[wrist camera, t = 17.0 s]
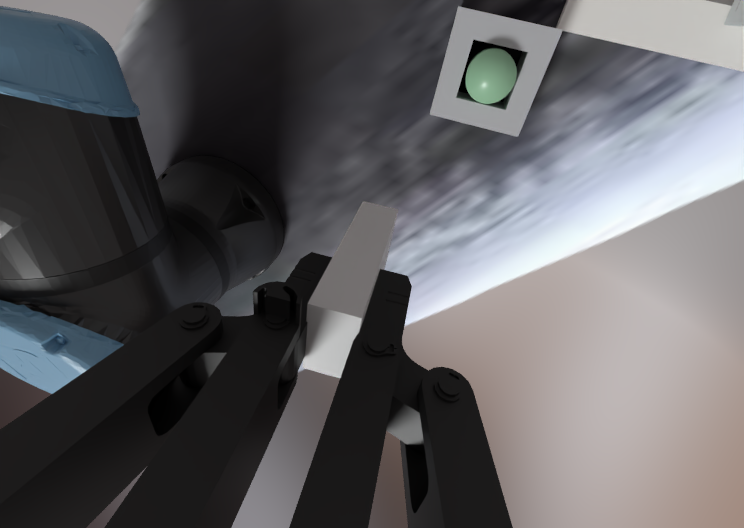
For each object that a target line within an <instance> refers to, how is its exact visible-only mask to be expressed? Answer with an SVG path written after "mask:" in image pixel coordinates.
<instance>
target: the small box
mask: <svg viewBox="0 0 744 528" xmlns="http://www.w3.org/2000/svg"><path fill="white" fill-rule="evenodd" d="M724 25H728V26H744V0H734V2H733V4H732V7H731V9H730V11H729V13H728V16H727V18H726V20H725V22H724Z"/></svg>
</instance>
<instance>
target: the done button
mask: <svg viewBox="0 0 744 528" xmlns="http://www.w3.org/2000/svg"><path fill="white" fill-rule="evenodd" d="M516 75H517V69H516V65H515V62H514V60H513V59H512V57H511V56H510V55H509V54H508V53H507V52H506V51H505V50H503V49H501V48H497V47H491V48H486V49H484V50H482V51H480V52H479V53H477V54H476V55H475V56H474V57H473V59H472V60H471V62H470V63H469V66H468V68H467V73H466V88H467V91H468V93H469V94H470V96H471V97H472V98H473V99H474V100H476V101H478V102H480V103H484V104H491V103H495V102H498V101H500V100H501V99H503V98H504V97H505V96H507V95H508V93H509V92H510V91H511V89H512V88H513V86H514V84H515V81H516Z"/></svg>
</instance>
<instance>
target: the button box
mask: <svg viewBox="0 0 744 528" xmlns="http://www.w3.org/2000/svg"><path fill="white" fill-rule="evenodd" d="M562 31H563V30H561V29H556V28H552V27H547V26H543V25H539V24H534V23H530V22H525V21H521V20H517V19H512V18H508V17H503V16H499V15H494V14H490V13H486V12H481V11H477V10H472V9H468V8H464V7H459V6H458V10H457V14H456V17H455V21H454V25H453V29H452V32H451V36H450V40H449V44H448V47H447V51H446V55H445V59H444V62H443V66H442V70H441V74H440V78H439V81H438V85H437V89H436V93H435V96H434V100H433V104H432V108H431V111H430V115H434V116H438V117H442V118H446V119H450V120H454V121H458V122H462V123H466V124H470V125H473V126H477V127H481V128H485V129H489V130H493V131H497V132H501V133H505V134H509V135H513V136H517V137H518V135H519V133H520V131H521V128H522V126H523V124H524V121H525V119H526V116H527V114H528V112H529V109H530V107H531V105H532V102H533V100H534V98H535V95H536V93H537V90H538V88H539V86H540V83H541V81H542V79H543V76H544V74H545V72H546V69H547V67H548V64H549V62H550V60H551V57H552V55H553V53H554V50H555V48H556V46H557V43H558V41H559V38H560V36H561V34H562ZM473 40H478V41H482V42H487V43H491V44H495V45H499V46H504V47H508V48H512V49H516V50H521V51H522V54H521V57H520V59H519V62H518V65H517V67H516V69H517V75H516V81H515V84H514V86H513V88H512V89H511V91H510V92H509V93H508V95H507V96H506V97H505V99H504V102H499V101H498V102H495V103H491V104H484V103H480V102H478V101H476V100H474V99H473V98H472V97H471V96H470V94H467V93H463V92H459V91H458V90H459V86H460V83H461V80H462V76H463V73H464V70H465V66H466V63H467V60H468V56H469V53H470V50H471V46H472V43H473Z"/></svg>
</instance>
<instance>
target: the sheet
mask: <svg viewBox="0 0 744 528" xmlns="http://www.w3.org/2000/svg"><path fill="white" fill-rule="evenodd" d="M733 2H734V0H567V1H566V3H565V6H564V8H563V11H562V13H561V15H560V18H559V20H558V23H557V25H556V29H561V30H563V31H566V32H571V33H575V34H580V35H584V36H588V37H593V38H597V39H602V40H606V41H610V42H615V43H619V44H624V45H628V46H633V47H637V48H641V49H646V50H650V51H655V52H659V53H663V54H668V55H672V56H677V57H681V58H685V59H690V60H694V61H699V62H703V63H708V64H712V65H716V66H721V67H725V68H730V69H734V70H738V71H743V72H744V26H728V25H724V22H725V20H726V18H727V16H728V13H729V11H730V9H731V7H732V4H733Z"/></svg>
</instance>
